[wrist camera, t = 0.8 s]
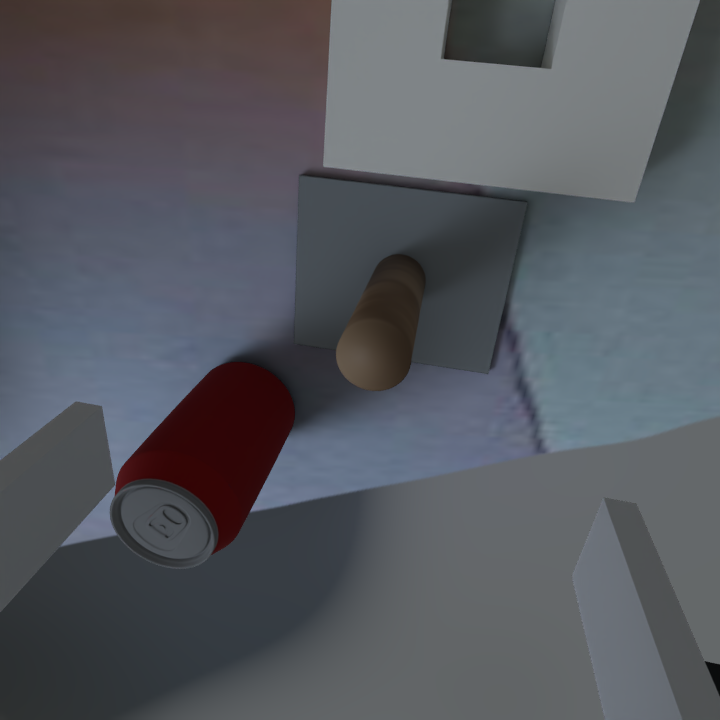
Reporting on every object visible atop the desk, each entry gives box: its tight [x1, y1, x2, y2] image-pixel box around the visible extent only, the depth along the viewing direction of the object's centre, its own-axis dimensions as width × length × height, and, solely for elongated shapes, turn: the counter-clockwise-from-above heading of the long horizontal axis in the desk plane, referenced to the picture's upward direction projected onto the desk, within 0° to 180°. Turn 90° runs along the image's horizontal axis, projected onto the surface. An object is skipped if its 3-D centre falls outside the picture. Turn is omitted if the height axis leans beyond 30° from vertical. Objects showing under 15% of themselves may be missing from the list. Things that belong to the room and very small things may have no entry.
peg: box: [336, 254, 426, 391], centre depth 25 cm, size 3×3×10 cm
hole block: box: [323, 0, 700, 203], centre depth 22 cm, size 14×14×4 cm
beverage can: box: [110, 362, 295, 569], centre depth 30 cm, size 7×7×12 cm
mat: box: [294, 175, 528, 374], centre depth 29 cm, size 12×10×1 cm
